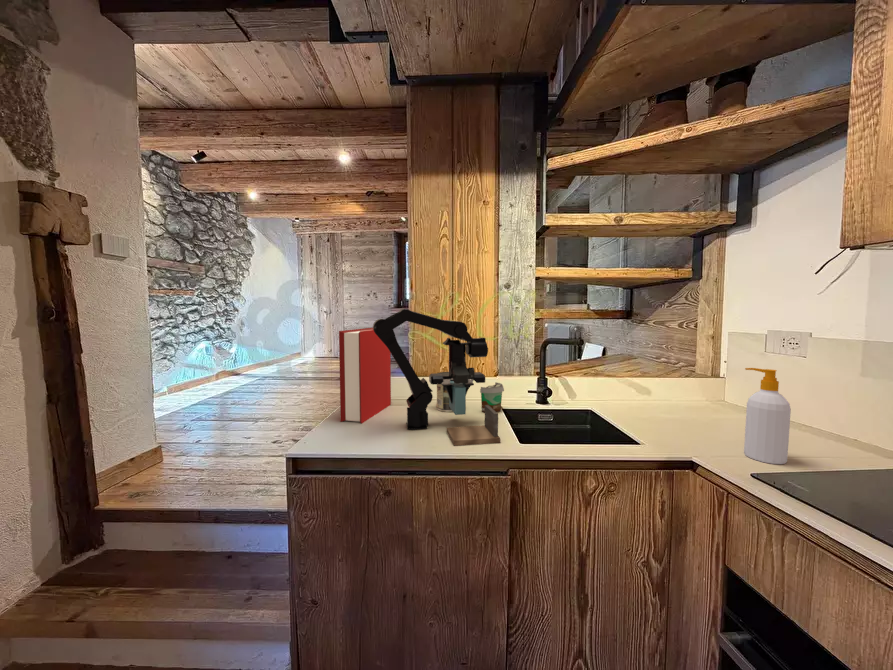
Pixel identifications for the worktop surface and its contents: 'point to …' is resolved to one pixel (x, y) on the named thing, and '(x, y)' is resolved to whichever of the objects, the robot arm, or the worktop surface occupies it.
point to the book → (363, 374)
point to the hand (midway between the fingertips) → (457, 402)
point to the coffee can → (443, 396)
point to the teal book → (458, 399)
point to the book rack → (477, 431)
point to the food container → (492, 396)
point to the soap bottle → (767, 422)
